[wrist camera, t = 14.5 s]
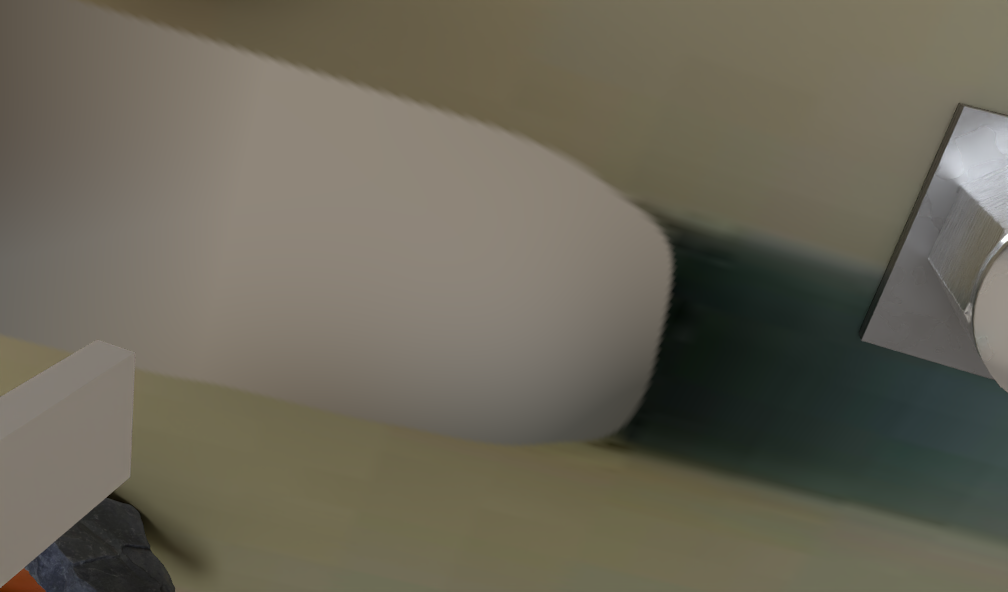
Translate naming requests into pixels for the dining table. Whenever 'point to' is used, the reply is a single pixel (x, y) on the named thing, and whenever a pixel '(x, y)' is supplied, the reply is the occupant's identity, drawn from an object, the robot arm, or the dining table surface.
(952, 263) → the silver metal fitting
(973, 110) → the knob on square plate
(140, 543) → the stone
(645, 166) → the dining table surface
